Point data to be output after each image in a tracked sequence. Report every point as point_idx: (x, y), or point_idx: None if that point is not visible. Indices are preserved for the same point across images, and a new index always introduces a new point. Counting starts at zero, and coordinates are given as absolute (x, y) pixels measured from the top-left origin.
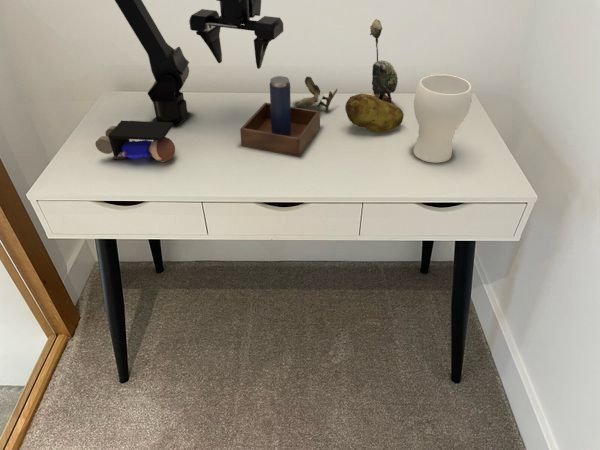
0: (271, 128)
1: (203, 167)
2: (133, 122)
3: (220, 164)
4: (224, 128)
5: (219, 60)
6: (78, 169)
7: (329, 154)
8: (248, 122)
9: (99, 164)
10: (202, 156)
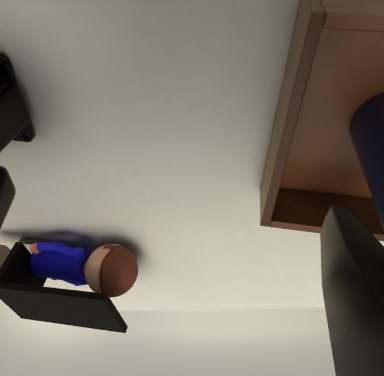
0: (355, 149)
1: (207, 260)
2: (19, 293)
3: (237, 250)
4: (169, 111)
5: (4, 206)
6: None
7: None
8: (276, 193)
9: None
10: (185, 233)
